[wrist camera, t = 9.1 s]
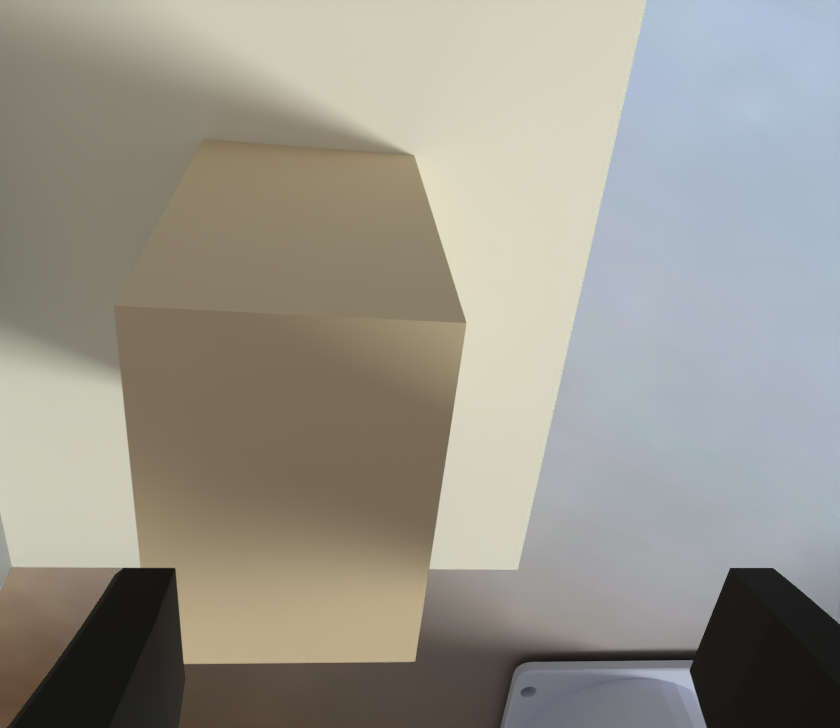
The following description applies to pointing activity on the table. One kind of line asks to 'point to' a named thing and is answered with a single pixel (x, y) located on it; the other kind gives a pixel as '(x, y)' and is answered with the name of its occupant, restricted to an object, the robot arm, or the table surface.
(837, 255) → the table surface
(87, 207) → the shelf board
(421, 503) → the carton
